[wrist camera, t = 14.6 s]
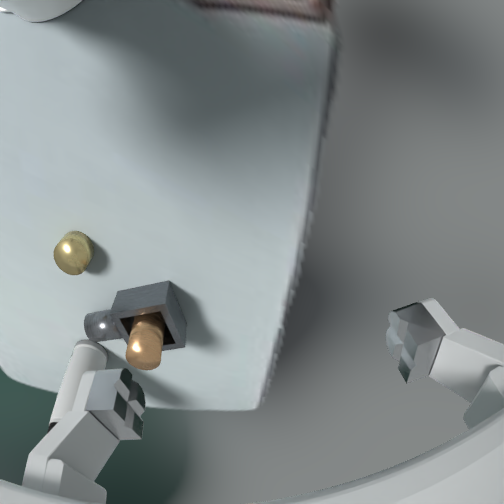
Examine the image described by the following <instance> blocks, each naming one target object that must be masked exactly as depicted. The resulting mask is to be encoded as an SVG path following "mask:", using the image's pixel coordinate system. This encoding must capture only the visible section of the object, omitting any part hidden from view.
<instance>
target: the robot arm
mask: <svg viewBox="0 0 504 504" xmlns="http://www.w3.org/2000/svg"><path fill="white" fill-rule="evenodd" d="M81 1H82V0H0V12H12V13H14V14H16V15H17V16H18V17H20V18H21V19H23V20H26V21H29V22H42V21H47V20H50V19H53V18H55V17H58V16H60V15H62V14H64V13H65V12H67V11H69V10H70V9H72V8H73V7H75V6H76V5H77V4H79V3H80V2H81ZM388 321H389V323H390V325H391V326H390V327H389V328H388V330H387V331H386V344H387V348H388V351H389V353H390V355H391V357H392V358H393V359H395V360H397V361H399V366H398V369H399V371H400V373H401V375H402V376H403V378H404V380H405V382H406V383H410V382H412V381H415V380H417V379H420V378H423V377H426V376H428V375H429V376H430V377H431V378H433V379H434V380H436V381H437V382H439V383H440V384H442V385H444V386H445V387H447V388H448V389H450V390H451V391H453V392H454V393H456V394H458V395H459V396H461V397H463V398H464V399H466V400H467V401H469V402H470V403H471V404H470V406H469V407H468V409H467V410H466V412H465V413H464V416H463V420H464V421H465V423H466V425H467V427H468V429H469V430H467V431H465V432H464V433H462V434H460V435H458V436H457V437H455V438H453V439H451V440H449V441H447V442H445V443H443V444H441V445H439V446H437V447H435V448H433V449H431V450H429V451H427V452H425V453H423V454H421V455H419V456H416V457H414V458H412V459H410V460H407V461H405V462H402V463H400V464H398V465H395V466H393V467H390V468H387V469H385V470H382V471H380V472H377V473H374V474H371V475H368V476H366V477H363V478H359V479H356V480H353V481H350V482H347V483H343V484H340V485H337V486H333V487H330V488H326V489H322V490H318V491H314V492H310V493H306V494H301V495H296V496H291V497H286V498H281V499H275V500H270V501H263V502H257V503H249V504H504V344H501V343H499V342H497V341H494V340H492V339H489V338H487V337H485V336H482V335H480V334H477V333H475V332H472V331H470V330H468V329H465V328H461V329H459V327H458V326H457V325H456V324H455V322H453V320H452V319H451V317H450V316H449V315H448V314H447V313H446V312H445V310H444V309H443V308H442V307H441V305H440V304H439V303H438V302H437V301H436V300H435V299H434V298H432V297H430V298H428V299H425V300H422V301H419V302H416V303H413V304H410V305H407V306H404V307H402V308H398V309H396V310H393V311H391V312H390V313H389V317H388ZM144 411H145V396H144V392H143V390H142V388H141V386H140V385H139V384H138V383H136V382H135V381H133V380H132V374H131V373H130V371H129V370H128V369H126V368H122V369H109V370H96V371H86V372H85V373H84V374H83V375H82V378H81V381H80V385H79V388H78V391H77V395H76V398H75V402H74V405H73V409H72V411H68V412H67V413H66V414H65V415H64V416H63V418H62V419H61V420H60V421H59V422H58V423H57V424H56V425H55V426H54V427H53V428H52V429H51V430H50V432H49V433H48V434H47V435H46V436H45V437H44V438H43V439H42V440H41V442H39V444H38V445H37V446H36V447H35V448H34V449H33V450H32V451H31V452H30V453H29V457H28V461H27V465H26V469H25V473H24V478H23V483H22V486H19V485H16V484H13V483H10V482H7V481H4V480H1V479H0V504H106V493H107V491H106V490H105V489H104V488H103V487H101V486H99V485H98V484H96V483H95V482H94V480H95V478H96V477H97V475H98V474H99V472H100V471H101V469H102V468H103V466H104V465H105V463H106V461H107V460H108V458H109V457H110V455H111V454H112V452H113V450H114V449H115V448H116V446H117V444H118V443H119V440H133V439H142V431H143V423H144V422H143V420H142V419H141V417H140V416H141V414H142V413H143V412H144Z"/></svg>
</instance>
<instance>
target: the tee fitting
mask: <svg viewBox="0 0 504 504" xmlns="http://www.w3.org/2000/svg"><path fill="white" fill-rule="evenodd" d="M158 311H161V313H162V316H163V318H164V320H165V329H164V337H163V345H162V351H165V350H171V349H177V348H184V347H185V341H186V324H187V323H186V321H185V318H184V316H183V314H182V311H181V309H180V306H179V304H178V302H177V299H176V297H175V294H174V292H173V289H172V287H171V284H170V282H169V281H165V282H160V283H155V284H151V285H146V286H141V287H136V288H132V289H127V290H122V291H118V292H117V295H116V297H115V300H114V303H113V305H112V308H111V309H110V310H105V311H100V312H94V313H89V314H87V315H86V316H85V320H84V328H85V332H86V335H87V337H88V338H89V340H90V341H92V342H99V341H107V340H114V339H121V338H124V340H125V342H126V343H127V345H128V342H129V337H130V333H131V329H132V325H133V321H134V317H135V316H137V315H142V314H148V313H153V312H158Z"/></svg>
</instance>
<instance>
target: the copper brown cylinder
mask: <svg viewBox="0 0 504 504" xmlns="http://www.w3.org/2000/svg"><path fill="white" fill-rule="evenodd" d="M164 329H165V320H164V318H163V316H162V313H161V311H158V312H153V313H148V314H142V315H137V316H135V317H134V321H133V325H132V329H131V333H130V337H129V342H128V346H127V350H126V360H127V361H128V362H129V364H131V365H132V366H133V367H135V368H138V369H141V370H152V369H155V368H157V367H158V366H159V365H160V362H161V353H162V345H163V337H164Z"/></svg>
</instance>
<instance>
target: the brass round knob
mask: <svg viewBox="0 0 504 504" xmlns="http://www.w3.org/2000/svg"><path fill="white" fill-rule="evenodd" d="M93 254H94V247H93V244H92V242H91V240H90V239H89V238H88V237H87V236H86V235H85V234H84V233H82V232H79V231H71V232H68V233H67V234H66V235H65V236H64V237H63V238H62V239H61V241H60V242H59V243H58V244H57V246H56V247H55V249H54V259H55V262H56V264H57V266H58V267H59V268H60V269H61V270H62V271H63V272H65V273H67V274H70V275H79V274H81V273H83V272H84V271H85V269H86V267H87V266H88V264H89V262H90V261H91V259H92V257H93Z"/></svg>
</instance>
